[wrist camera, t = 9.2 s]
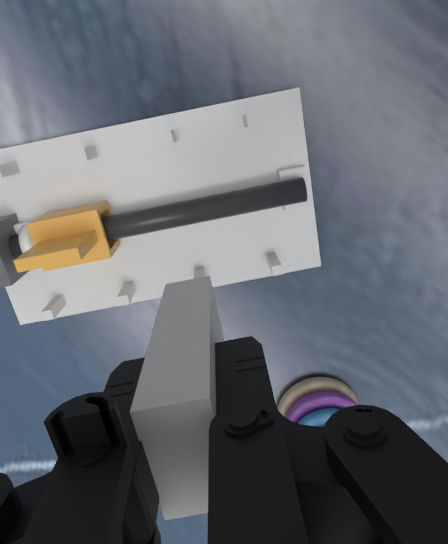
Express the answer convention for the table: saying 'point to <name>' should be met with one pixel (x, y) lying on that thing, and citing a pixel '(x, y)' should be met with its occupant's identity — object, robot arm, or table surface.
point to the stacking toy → (315, 400)
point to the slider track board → (165, 203)
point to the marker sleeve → (68, 239)
